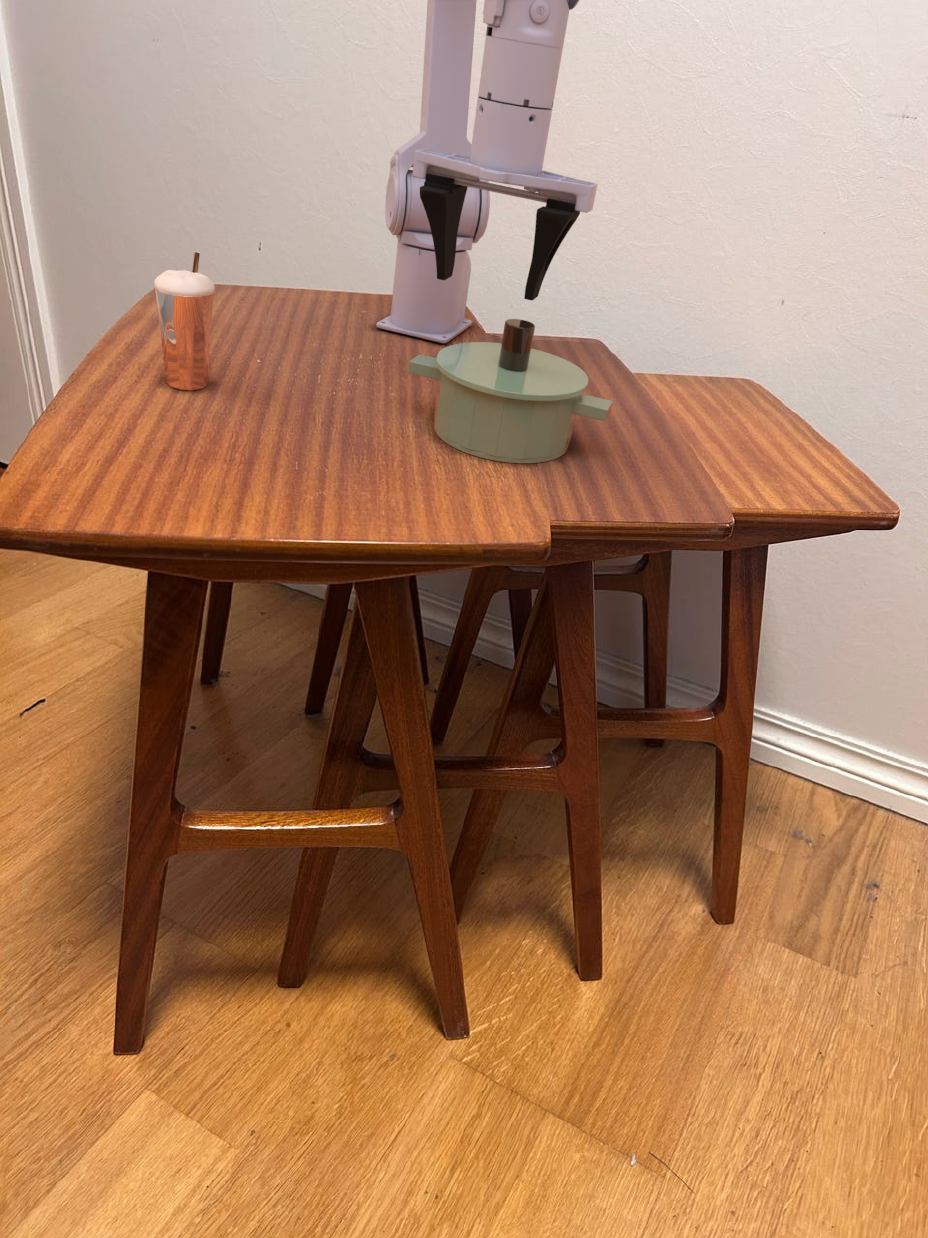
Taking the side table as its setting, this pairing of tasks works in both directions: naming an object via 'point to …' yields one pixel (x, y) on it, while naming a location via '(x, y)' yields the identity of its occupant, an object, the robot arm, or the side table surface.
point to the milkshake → (185, 325)
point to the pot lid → (512, 367)
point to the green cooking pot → (504, 420)
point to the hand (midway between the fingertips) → (487, 287)
